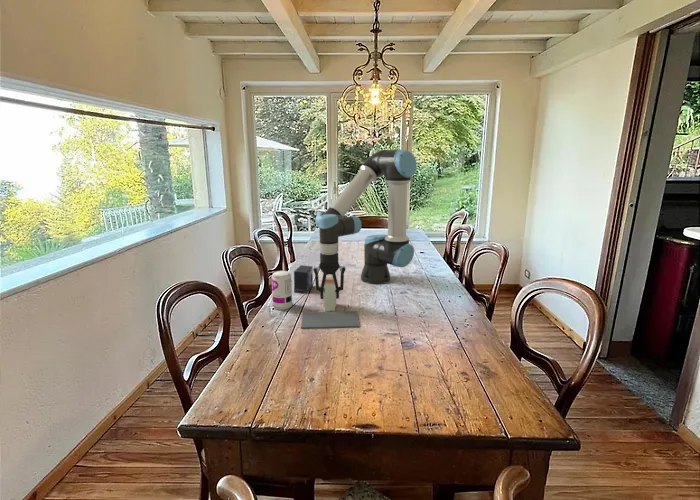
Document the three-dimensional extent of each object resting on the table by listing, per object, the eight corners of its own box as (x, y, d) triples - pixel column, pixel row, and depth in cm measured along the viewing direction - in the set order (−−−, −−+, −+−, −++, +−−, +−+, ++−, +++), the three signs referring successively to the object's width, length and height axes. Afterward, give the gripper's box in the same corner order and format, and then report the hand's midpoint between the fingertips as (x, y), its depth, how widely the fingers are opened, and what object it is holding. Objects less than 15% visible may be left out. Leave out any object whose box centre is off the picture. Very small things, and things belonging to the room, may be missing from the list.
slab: (334, 303, 175) (334, 277, 172) (334, 310, 167) (334, 283, 164) (325, 303, 175) (324, 277, 172) (325, 311, 167) (324, 283, 164)
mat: (356, 312, 166) (356, 311, 165) (359, 327, 152) (359, 325, 152) (302, 313, 164) (302, 312, 164) (300, 328, 151) (300, 327, 151)
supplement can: (276, 311, 166) (274, 277, 162) (270, 305, 173) (268, 271, 170) (294, 308, 170) (293, 274, 166) (288, 301, 177) (287, 269, 173)
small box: (307, 293, 187) (306, 272, 184) (293, 292, 188) (293, 271, 185) (313, 286, 197) (313, 265, 194) (300, 285, 198) (300, 264, 195)
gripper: (349, 249, 169) (349, 301, 175) (308, 250, 168) (309, 302, 174) (350, 254, 162) (350, 308, 168) (307, 255, 161) (309, 309, 167)
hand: (329, 305), depth 171 cm, fingers closed on slab, 4 cm apart
